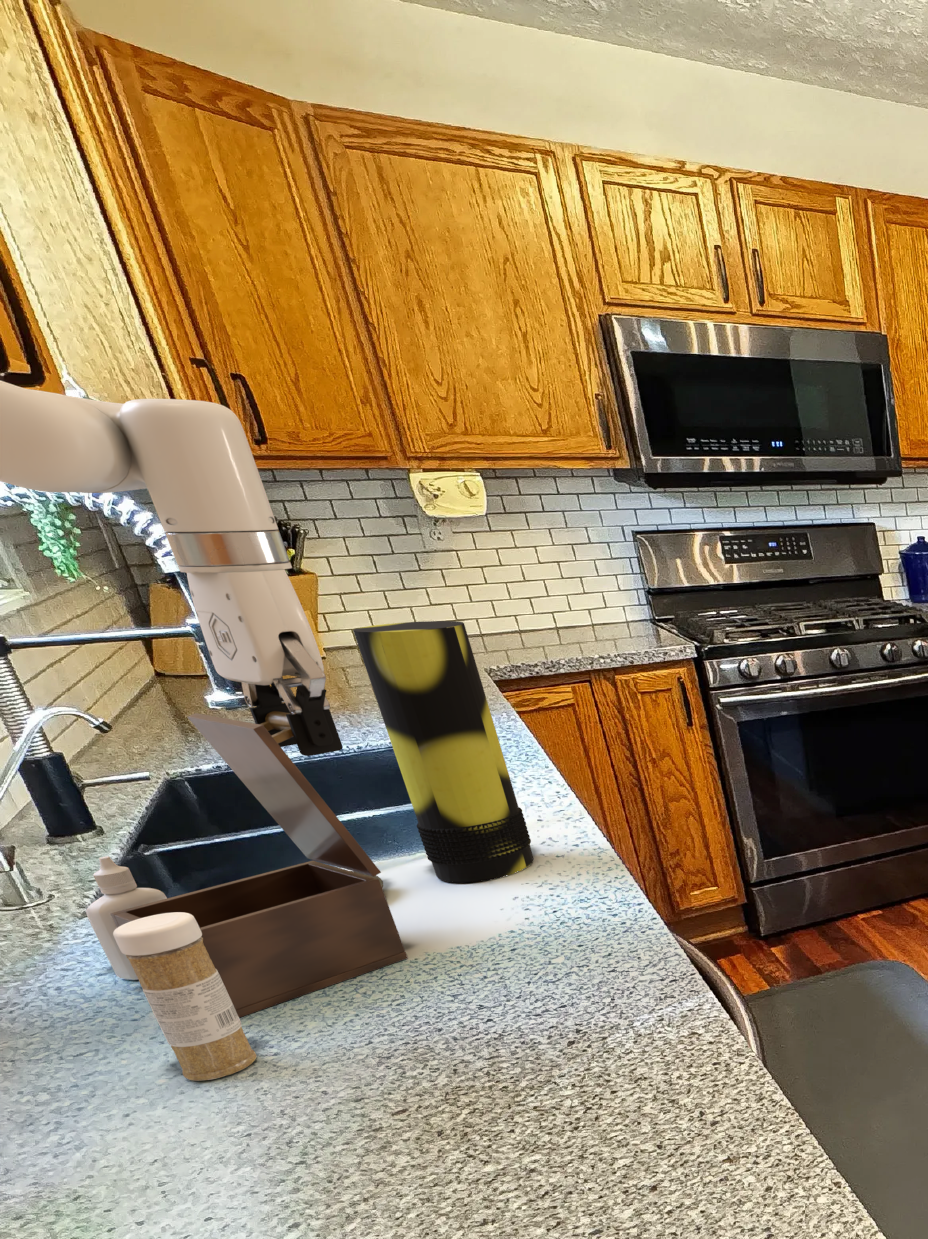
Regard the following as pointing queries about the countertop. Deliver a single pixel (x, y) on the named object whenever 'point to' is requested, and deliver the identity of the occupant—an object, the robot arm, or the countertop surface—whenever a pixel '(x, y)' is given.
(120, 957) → the eye dropper bottle
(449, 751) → the container
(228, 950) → the walnut box
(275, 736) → the walnut panel
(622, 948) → the countertop surface
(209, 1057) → the spice jar
